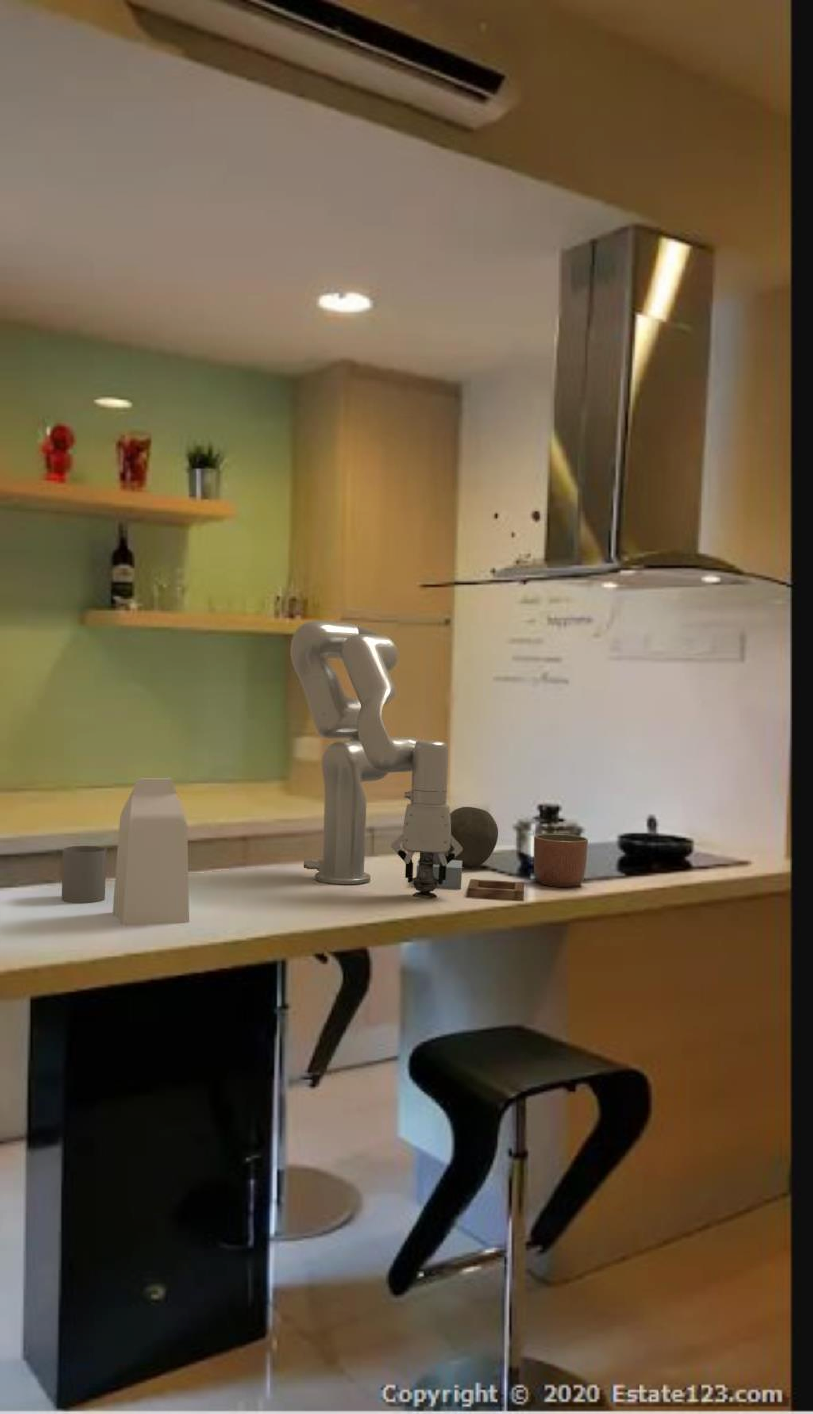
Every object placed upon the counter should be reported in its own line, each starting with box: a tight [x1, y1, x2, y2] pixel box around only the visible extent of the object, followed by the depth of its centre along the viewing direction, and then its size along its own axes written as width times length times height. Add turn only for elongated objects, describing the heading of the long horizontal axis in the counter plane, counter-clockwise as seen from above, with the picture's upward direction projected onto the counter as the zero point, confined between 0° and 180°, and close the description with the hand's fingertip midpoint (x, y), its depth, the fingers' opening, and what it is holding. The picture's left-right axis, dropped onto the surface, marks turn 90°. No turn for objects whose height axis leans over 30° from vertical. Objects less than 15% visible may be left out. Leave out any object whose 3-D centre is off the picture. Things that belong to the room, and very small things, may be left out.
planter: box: [533, 833, 589, 888], centre depth 260 cm, size 12×12×11 cm
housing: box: [415, 851, 463, 890], centre depth 254 cm, size 10×10×11 cm
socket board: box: [466, 878, 525, 902], centre depth 245 cm, size 12×11×2 cm
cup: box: [61, 845, 107, 905], centre depth 223 cm, size 8×8×10 cm
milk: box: [112, 777, 190, 927], centre depth 209 cm, size 12×12×26 cm
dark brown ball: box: [447, 806, 499, 869], centre depth 279 cm, size 14×14×15 cm
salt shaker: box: [412, 852, 439, 900], centre depth 240 cm, size 6×6×12 cm
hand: (425, 881), depth 240 cm, fingers closed on salt shaker, 5 cm apart
